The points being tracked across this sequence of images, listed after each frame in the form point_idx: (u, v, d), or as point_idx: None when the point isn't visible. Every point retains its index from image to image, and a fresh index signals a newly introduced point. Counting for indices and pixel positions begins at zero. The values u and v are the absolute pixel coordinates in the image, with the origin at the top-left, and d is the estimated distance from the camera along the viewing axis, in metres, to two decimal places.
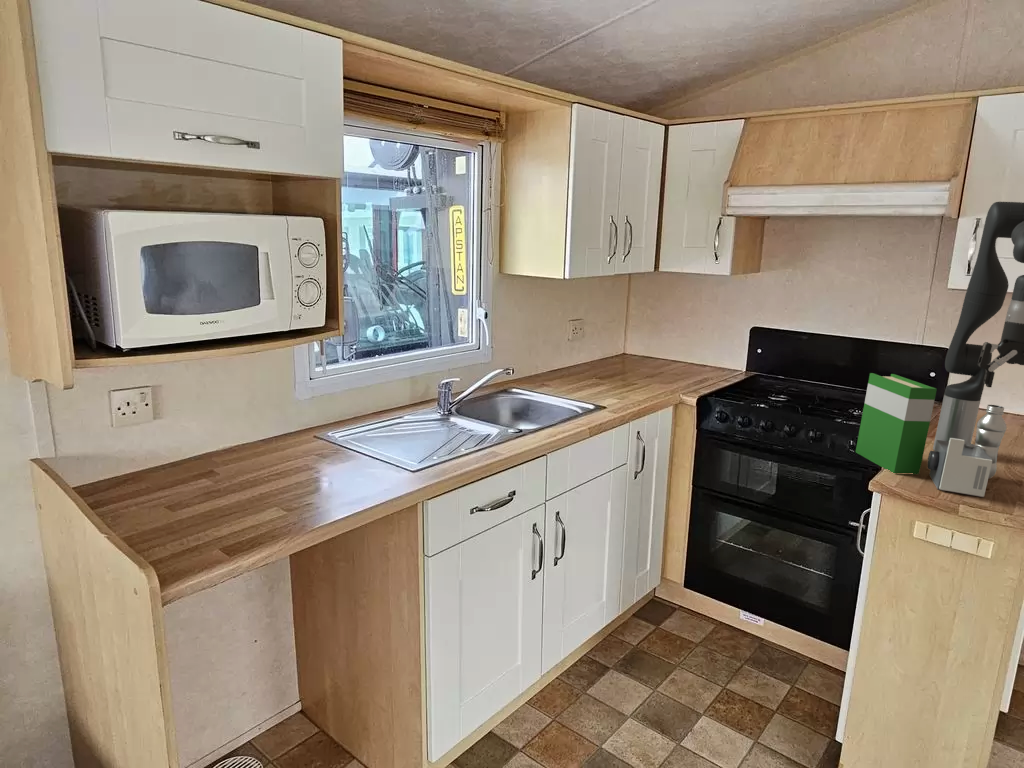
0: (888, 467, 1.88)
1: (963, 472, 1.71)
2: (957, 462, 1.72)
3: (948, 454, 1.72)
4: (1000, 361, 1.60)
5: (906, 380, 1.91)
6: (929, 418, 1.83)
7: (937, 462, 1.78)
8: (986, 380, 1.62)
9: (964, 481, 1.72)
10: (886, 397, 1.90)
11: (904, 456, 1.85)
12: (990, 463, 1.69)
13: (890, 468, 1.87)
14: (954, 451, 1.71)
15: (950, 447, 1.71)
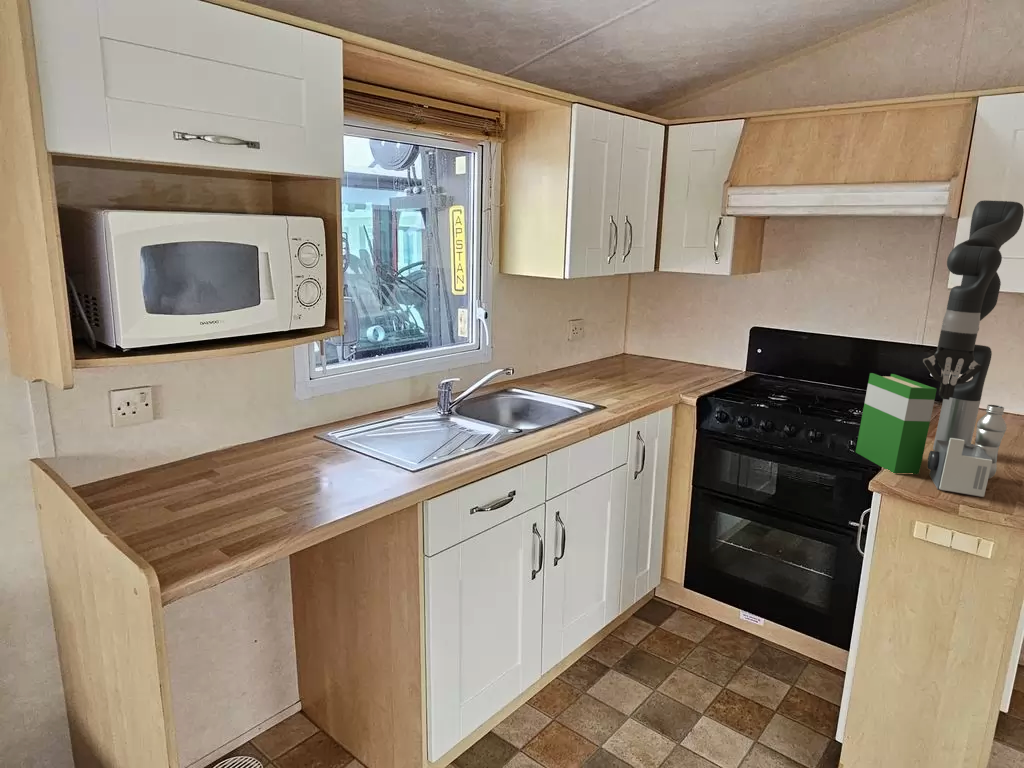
0: (888, 467, 1.88)
1: (963, 472, 1.71)
2: (957, 462, 1.72)
3: (948, 454, 1.72)
4: (945, 372, 1.68)
5: (906, 380, 1.91)
6: (929, 418, 1.83)
7: (937, 462, 1.78)
8: (941, 392, 1.70)
9: (964, 481, 1.72)
10: (886, 397, 1.90)
11: (904, 456, 1.85)
12: (990, 463, 1.69)
13: (890, 468, 1.87)
14: (954, 451, 1.71)
15: (950, 447, 1.71)
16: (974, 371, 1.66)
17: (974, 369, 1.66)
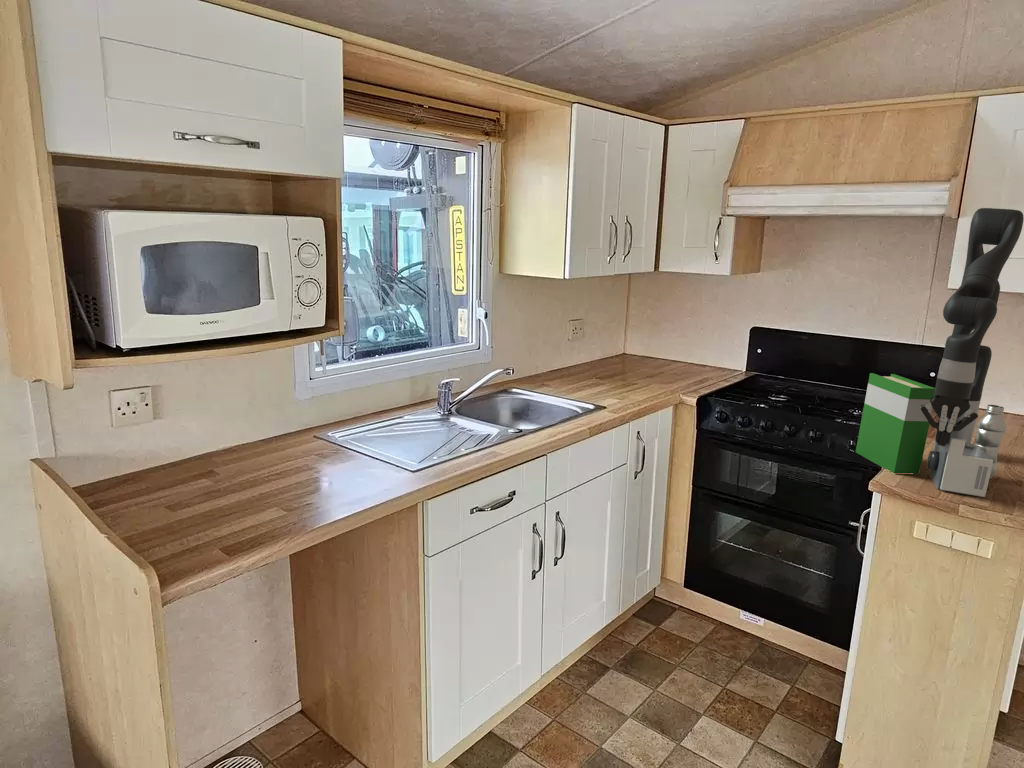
0: (888, 467, 1.88)
1: (964, 472, 1.71)
2: (958, 462, 1.71)
3: (949, 454, 1.72)
4: (942, 419, 1.70)
5: (906, 380, 1.91)
6: None
7: (937, 462, 1.78)
8: (937, 439, 1.72)
9: (965, 481, 1.72)
10: (886, 397, 1.90)
11: (904, 456, 1.85)
12: (991, 463, 1.69)
13: (890, 468, 1.87)
14: (955, 451, 1.71)
15: (951, 447, 1.71)
16: (970, 419, 1.68)
17: (970, 417, 1.68)
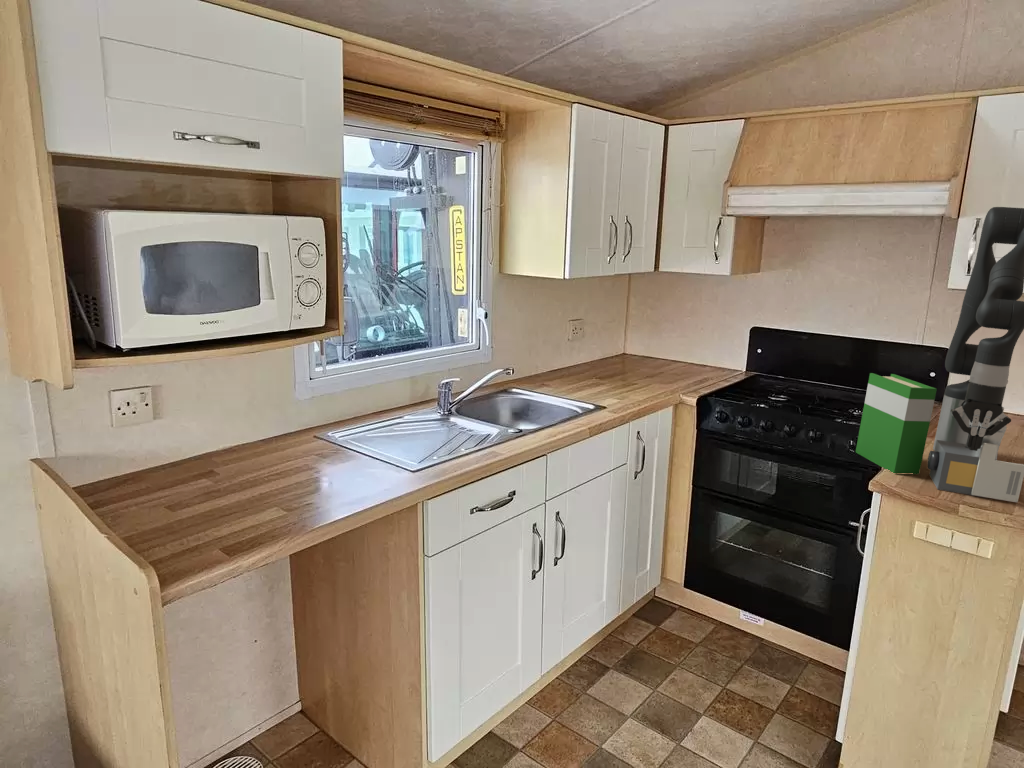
0: (888, 467, 1.88)
1: (996, 477, 1.69)
2: (990, 467, 1.69)
3: (981, 459, 1.69)
4: (974, 424, 1.68)
5: (906, 380, 1.91)
6: (929, 418, 1.83)
7: (937, 462, 1.78)
8: (969, 443, 1.70)
9: (997, 486, 1.69)
10: (886, 397, 1.90)
11: (904, 456, 1.85)
12: None
13: (890, 468, 1.87)
14: (987, 456, 1.69)
15: (983, 452, 1.69)
16: (1003, 423, 1.66)
17: (1003, 421, 1.66)
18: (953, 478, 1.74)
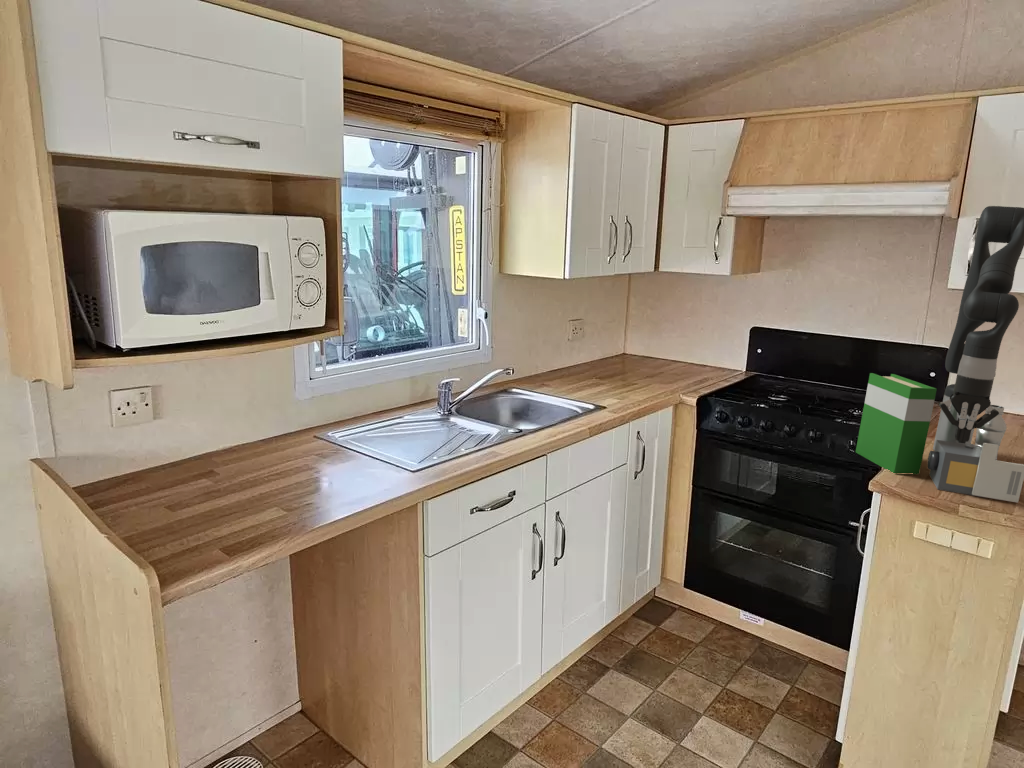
0: (888, 467, 1.88)
1: (996, 477, 1.69)
2: (990, 467, 1.69)
3: (981, 459, 1.69)
4: (962, 416, 1.68)
5: (906, 380, 1.91)
6: (929, 418, 1.83)
7: (937, 462, 1.78)
8: (957, 436, 1.70)
9: (998, 486, 1.69)
10: (886, 397, 1.90)
11: (904, 456, 1.85)
12: None
13: (890, 468, 1.87)
14: (987, 456, 1.69)
15: (983, 452, 1.69)
16: (990, 416, 1.66)
17: (990, 414, 1.66)
18: (953, 478, 1.74)
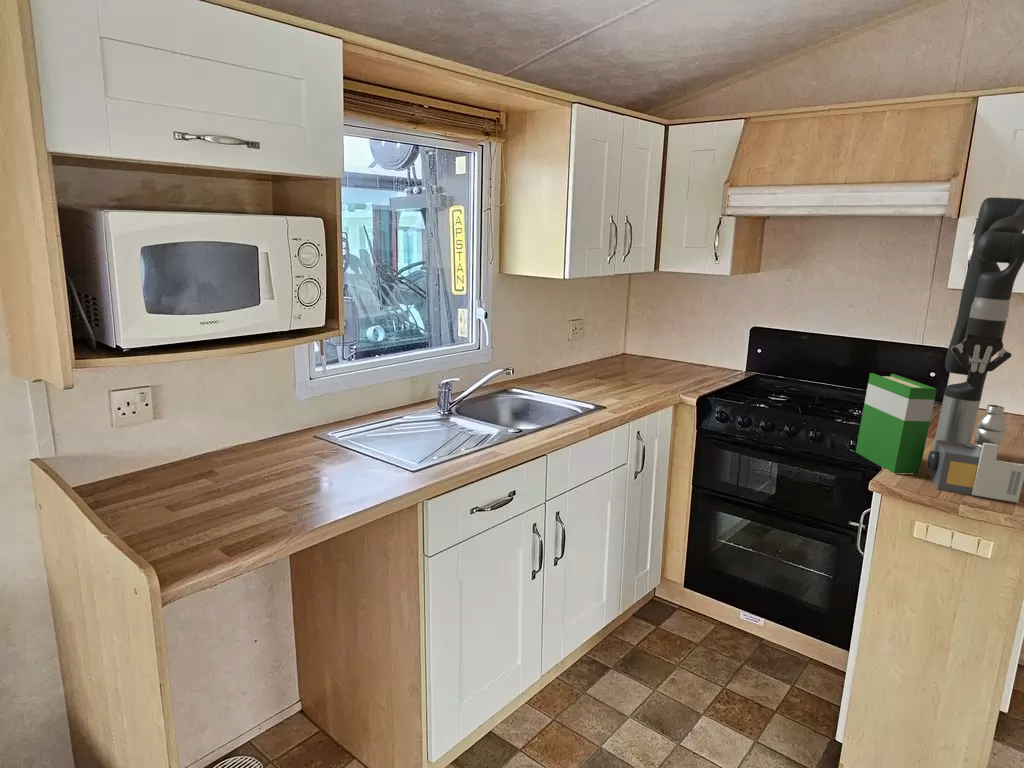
0: (888, 467, 1.88)
1: (996, 477, 1.69)
2: (990, 467, 1.69)
3: (981, 459, 1.69)
4: (974, 360, 1.67)
5: (906, 380, 1.91)
6: (929, 418, 1.83)
7: (937, 462, 1.78)
8: (969, 380, 1.69)
9: (998, 486, 1.69)
10: (886, 397, 1.90)
11: (904, 456, 1.85)
12: None
13: (890, 468, 1.87)
14: (987, 456, 1.69)
15: (983, 452, 1.69)
16: (1003, 358, 1.65)
17: (1003, 356, 1.65)
18: (953, 478, 1.74)
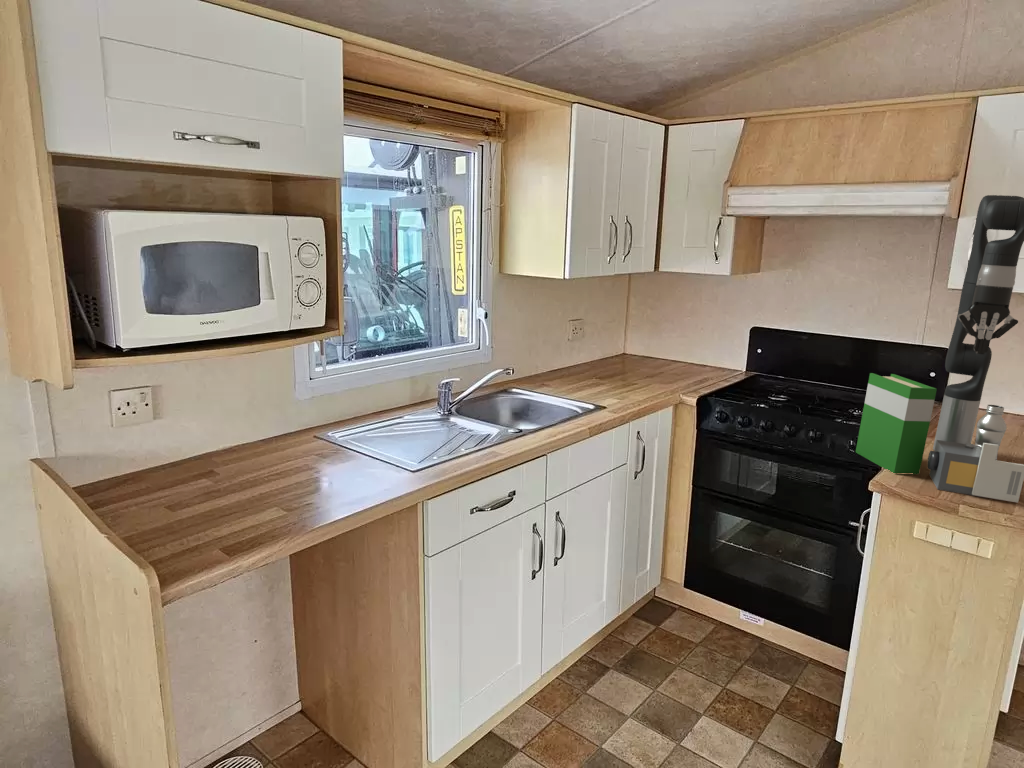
0: (888, 467, 1.88)
1: (996, 477, 1.69)
2: (990, 467, 1.69)
3: (981, 459, 1.69)
4: (981, 327, 1.69)
5: (906, 380, 1.91)
6: (929, 418, 1.83)
7: (937, 462, 1.78)
8: (976, 347, 1.71)
9: (998, 486, 1.69)
10: (886, 397, 1.90)
11: (904, 456, 1.85)
12: None
13: (890, 468, 1.87)
14: (987, 456, 1.69)
15: (983, 452, 1.69)
16: (1009, 325, 1.67)
17: (1009, 323, 1.67)
18: (953, 478, 1.74)
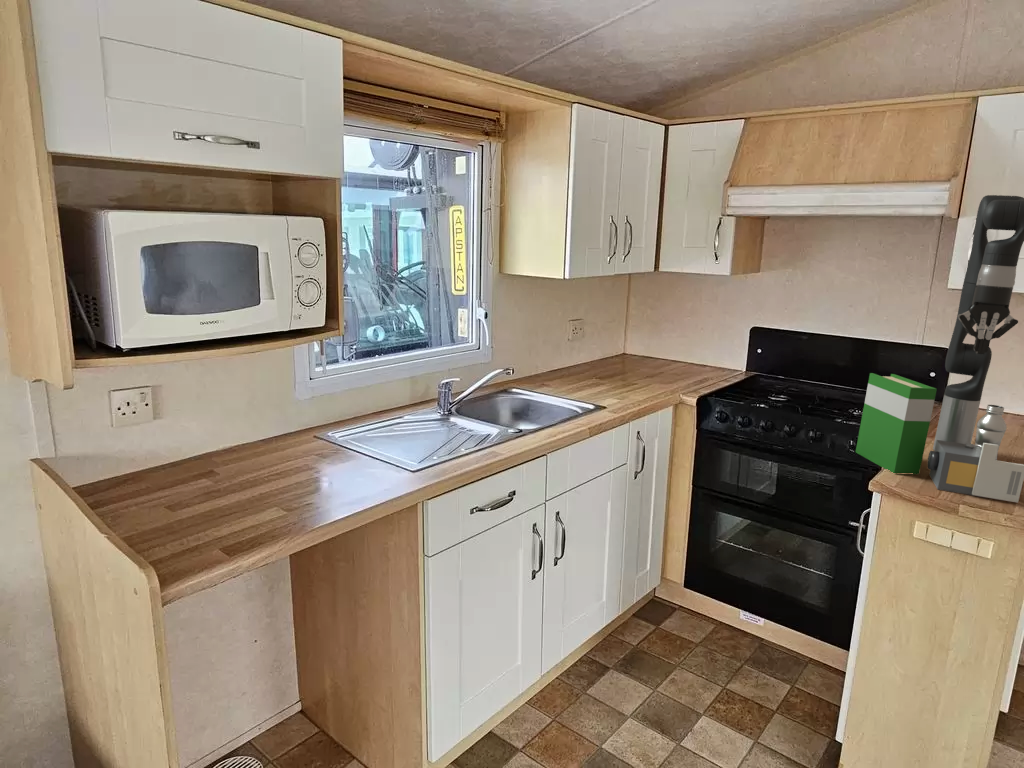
0: (888, 467, 1.88)
1: (996, 477, 1.69)
2: (990, 467, 1.69)
3: (981, 459, 1.69)
4: (981, 327, 1.69)
5: (906, 380, 1.91)
6: (929, 418, 1.83)
7: (937, 462, 1.78)
8: (976, 347, 1.71)
9: (998, 486, 1.69)
10: (886, 397, 1.90)
11: (904, 456, 1.85)
12: None
13: (890, 468, 1.87)
14: (987, 456, 1.69)
15: (983, 452, 1.69)
16: (1009, 325, 1.67)
17: (1009, 323, 1.67)
18: (953, 478, 1.74)
